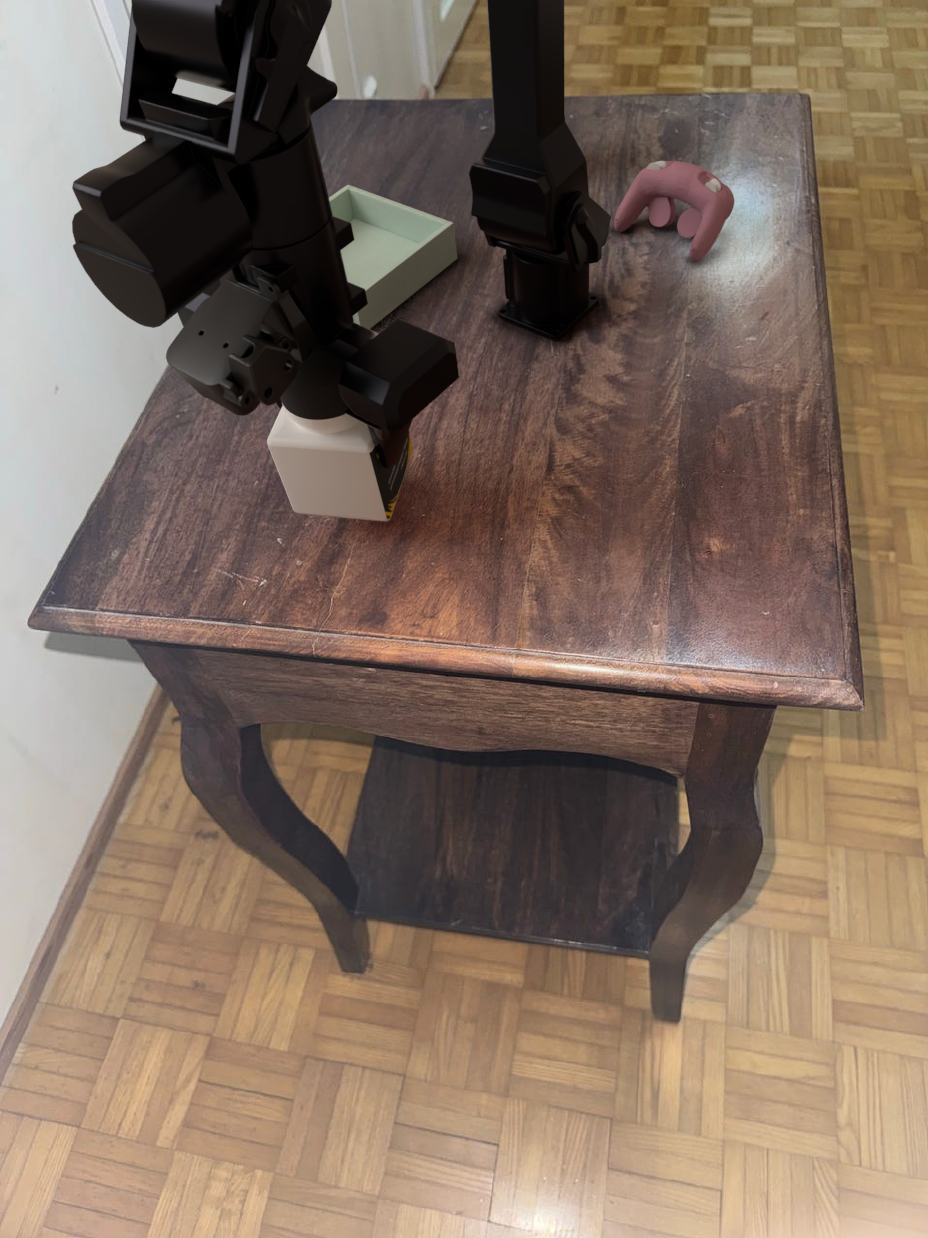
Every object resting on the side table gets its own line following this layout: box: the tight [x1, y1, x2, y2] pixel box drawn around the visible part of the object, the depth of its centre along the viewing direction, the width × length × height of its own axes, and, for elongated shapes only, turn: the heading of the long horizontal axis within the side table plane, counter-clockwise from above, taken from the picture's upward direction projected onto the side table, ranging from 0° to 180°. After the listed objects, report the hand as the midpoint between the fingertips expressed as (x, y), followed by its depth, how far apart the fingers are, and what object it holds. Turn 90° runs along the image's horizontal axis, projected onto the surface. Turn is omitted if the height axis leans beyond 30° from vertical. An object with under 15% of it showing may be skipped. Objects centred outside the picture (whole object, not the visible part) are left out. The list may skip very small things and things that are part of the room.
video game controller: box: [613, 160, 735, 263], centre depth 81 cm, size 10×5×7 cm, turn 47°
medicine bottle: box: [266, 350, 414, 522], centre depth 60 cm, size 7×7×12 cm
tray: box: [328, 184, 458, 330], centre depth 83 cm, size 13×13×4 cm
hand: (339, 436), depth 61 cm, fingers closed on medicine bottle, 9 cm apart
